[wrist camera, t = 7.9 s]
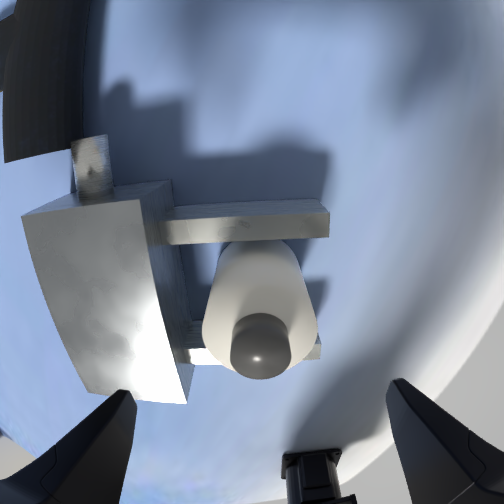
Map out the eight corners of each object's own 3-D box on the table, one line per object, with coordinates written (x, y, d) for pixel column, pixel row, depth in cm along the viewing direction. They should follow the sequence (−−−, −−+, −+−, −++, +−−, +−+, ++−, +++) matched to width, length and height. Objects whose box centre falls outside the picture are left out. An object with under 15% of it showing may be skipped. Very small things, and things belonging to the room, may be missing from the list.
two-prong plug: (310, 346, 20) (322, 399, 16) (112, 347, 21) (88, 392, 16) (315, 117, 15) (342, 111, 10) (63, 147, 15) (11, 158, 10)
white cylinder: (298, 306, 19) (318, 394, 12) (220, 309, 19) (206, 398, 12) (299, 232, 17) (329, 301, 10) (212, 236, 17) (187, 307, 10)
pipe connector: (-61, 185, 10) (-41, -8, 5) (-14, 169, 15) (-2, 3, 10) (49, 152, 11) (85, -85, 5) (99, 143, 15) (115, -51, 10)
